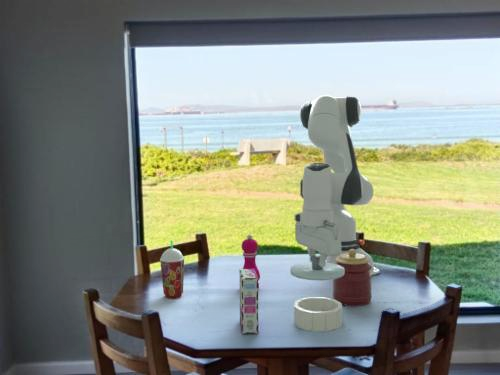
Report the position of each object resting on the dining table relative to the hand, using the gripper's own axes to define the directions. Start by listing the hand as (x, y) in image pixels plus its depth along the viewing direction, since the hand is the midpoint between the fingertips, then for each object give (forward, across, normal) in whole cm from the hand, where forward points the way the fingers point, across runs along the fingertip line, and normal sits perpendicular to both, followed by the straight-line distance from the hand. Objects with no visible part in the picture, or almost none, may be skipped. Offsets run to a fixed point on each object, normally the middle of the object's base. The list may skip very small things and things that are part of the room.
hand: (317, 264), depth 155 cm
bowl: (+18, 0, 0) cm, 18 cm away
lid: (+2, 0, 0) cm, 3 cm away
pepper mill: (+18, +40, +4) cm, 44 cm away
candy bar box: (+18, +6, +20) cm, 28 cm away
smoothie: (+18, +44, +32) cm, 57 cm away
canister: (+18, +12, -21) cm, 30 cm away
